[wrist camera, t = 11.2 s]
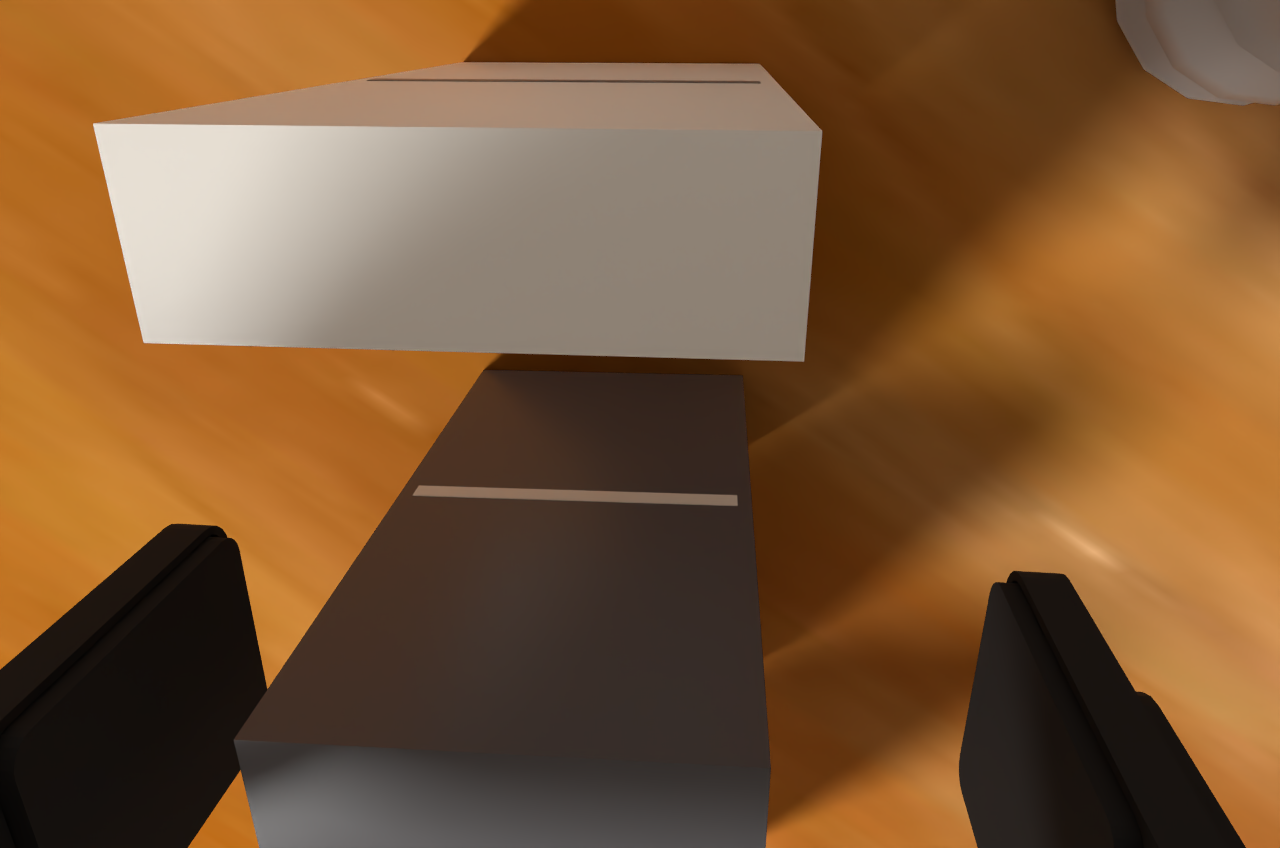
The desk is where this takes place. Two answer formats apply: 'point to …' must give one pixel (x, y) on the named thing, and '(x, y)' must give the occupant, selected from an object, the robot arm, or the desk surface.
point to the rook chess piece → (1208, 46)
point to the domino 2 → (538, 637)
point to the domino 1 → (478, 213)
